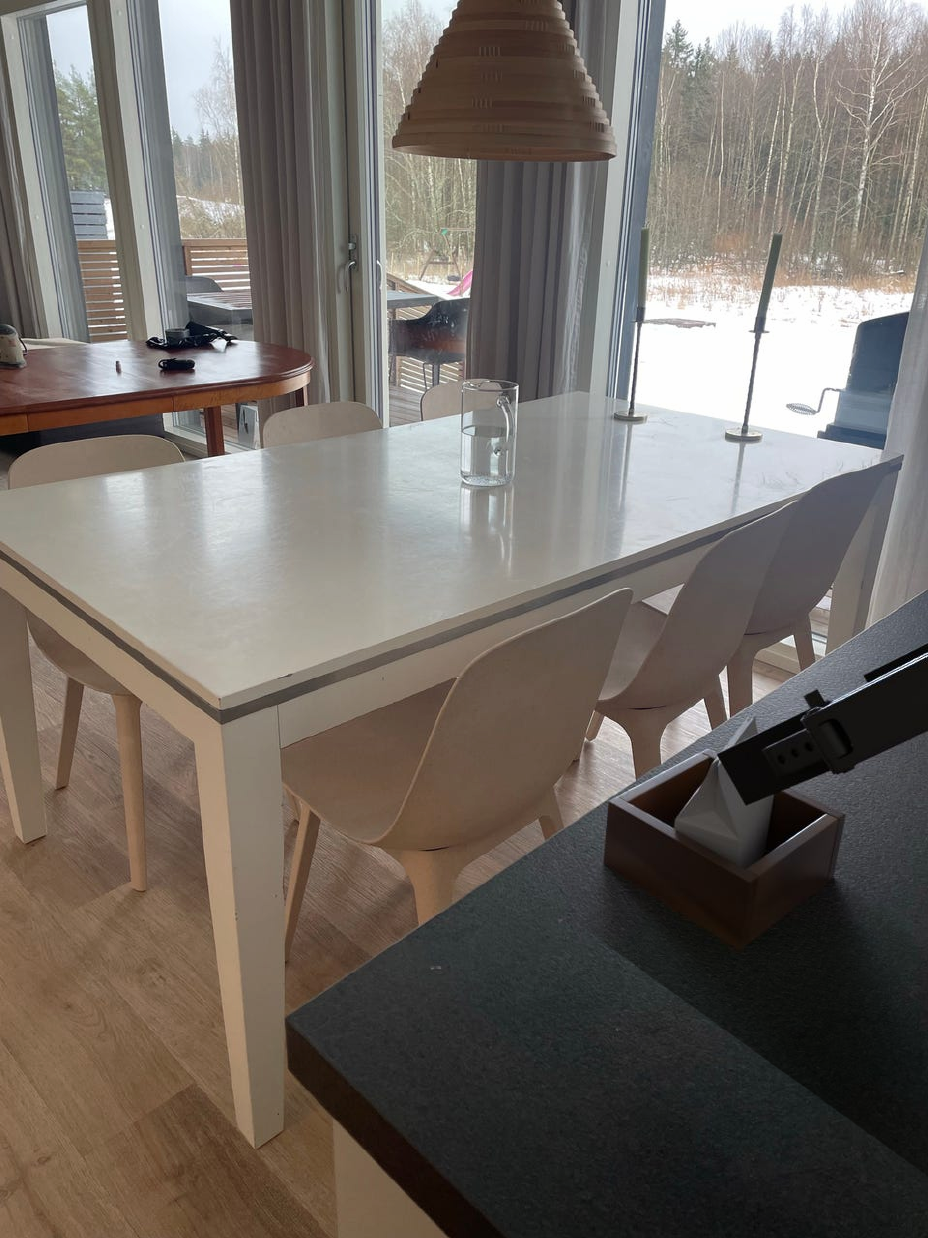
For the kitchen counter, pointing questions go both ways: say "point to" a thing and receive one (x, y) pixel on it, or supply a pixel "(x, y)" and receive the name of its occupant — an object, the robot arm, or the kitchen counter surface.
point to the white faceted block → (727, 813)
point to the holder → (708, 880)
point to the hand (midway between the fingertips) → (812, 732)
